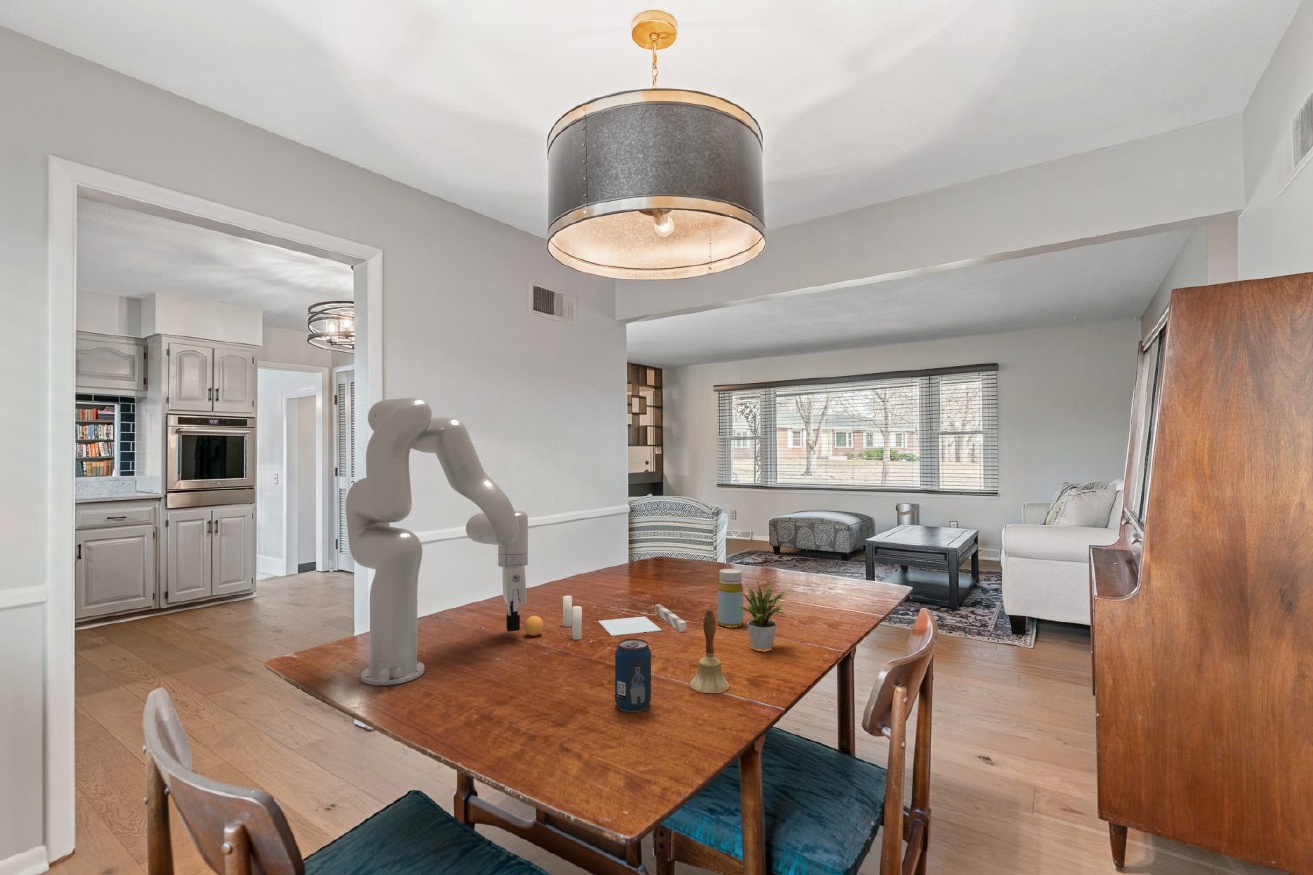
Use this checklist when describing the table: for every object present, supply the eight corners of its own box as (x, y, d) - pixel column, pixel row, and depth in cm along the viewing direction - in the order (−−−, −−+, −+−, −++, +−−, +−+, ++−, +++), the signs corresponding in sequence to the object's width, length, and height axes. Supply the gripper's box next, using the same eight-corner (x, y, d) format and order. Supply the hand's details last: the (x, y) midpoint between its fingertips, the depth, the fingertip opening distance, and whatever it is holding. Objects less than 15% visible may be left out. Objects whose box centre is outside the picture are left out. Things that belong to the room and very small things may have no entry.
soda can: (631, 695, 124) (631, 635, 124) (658, 705, 119) (658, 642, 119) (607, 706, 118) (607, 643, 118) (634, 717, 114) (634, 651, 114)
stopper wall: (686, 631, 166) (686, 622, 166) (680, 632, 165) (680, 623, 165) (660, 612, 185) (660, 604, 185) (655, 613, 184) (655, 604, 184)
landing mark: (661, 630, 167) (661, 630, 167) (611, 636, 162) (611, 635, 162) (644, 617, 180) (644, 616, 180) (598, 621, 175) (598, 620, 175)
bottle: (742, 621, 176) (742, 568, 176) (743, 629, 169) (743, 573, 169) (717, 620, 176) (718, 568, 176) (717, 628, 169) (718, 573, 169)
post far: (572, 626, 170) (572, 597, 170) (563, 627, 169) (564, 597, 169) (570, 623, 172) (570, 595, 172) (562, 624, 172) (562, 595, 172)
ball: (523, 622, 159) (528, 641, 159) (542, 615, 160) (547, 633, 161) (520, 617, 163) (525, 635, 164) (538, 611, 165) (543, 628, 165)
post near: (582, 639, 159) (582, 607, 159) (573, 640, 158) (573, 608, 158) (580, 636, 161) (580, 605, 161) (571, 637, 160) (571, 606, 160)
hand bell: (731, 694, 124) (731, 615, 124) (690, 694, 124) (690, 614, 125) (727, 679, 133) (728, 604, 133) (688, 678, 133) (689, 603, 133)
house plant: (793, 662, 143) (793, 591, 143) (733, 658, 145) (733, 588, 146) (792, 643, 157) (792, 578, 157) (737, 639, 159) (737, 575, 160)
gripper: (532, 563, 155) (532, 637, 155) (523, 553, 169) (523, 620, 169) (501, 565, 152) (501, 640, 152) (495, 555, 166) (495, 623, 166)
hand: (513, 629), depth 160 cm, fingers closed
